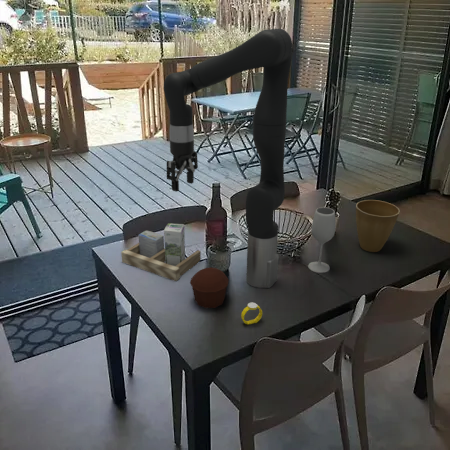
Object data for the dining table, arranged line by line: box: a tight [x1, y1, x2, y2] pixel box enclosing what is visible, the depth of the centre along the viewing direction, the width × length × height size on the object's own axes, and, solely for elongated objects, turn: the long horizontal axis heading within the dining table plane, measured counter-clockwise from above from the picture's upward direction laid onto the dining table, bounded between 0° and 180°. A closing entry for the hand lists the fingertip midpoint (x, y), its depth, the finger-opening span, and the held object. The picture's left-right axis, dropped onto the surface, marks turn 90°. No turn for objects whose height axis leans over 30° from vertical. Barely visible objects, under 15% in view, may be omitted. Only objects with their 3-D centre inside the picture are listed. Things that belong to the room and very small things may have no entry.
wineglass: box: [307, 206, 336, 274], centre depth 160 cm, size 8×8×21 cm
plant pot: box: [355, 199, 401, 253], centre depth 175 cm, size 15×15×16 cm
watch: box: [240, 301, 263, 325], centre depth 136 cm, size 6×3×6 cm, turn 113°
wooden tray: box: [120, 242, 202, 282], centre depth 166 cm, size 23×15×4 cm, turn 59°
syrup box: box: [163, 222, 186, 266], centre depth 162 cm, size 6×6×14 cm
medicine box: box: [137, 230, 165, 258], centre depth 168 cm, size 8×4×9 cm, turn 58°
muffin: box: [189, 266, 230, 309], centre depth 144 cm, size 12×11×10 cm
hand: (183, 186), depth 159 cm, fingers open, 8 cm apart
